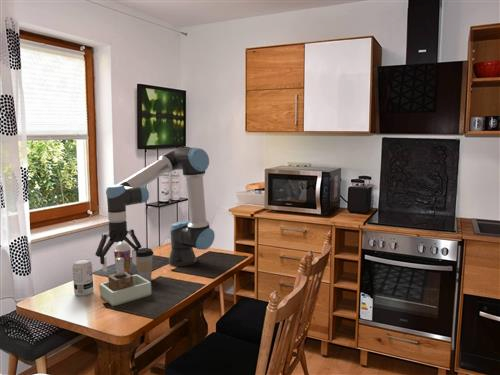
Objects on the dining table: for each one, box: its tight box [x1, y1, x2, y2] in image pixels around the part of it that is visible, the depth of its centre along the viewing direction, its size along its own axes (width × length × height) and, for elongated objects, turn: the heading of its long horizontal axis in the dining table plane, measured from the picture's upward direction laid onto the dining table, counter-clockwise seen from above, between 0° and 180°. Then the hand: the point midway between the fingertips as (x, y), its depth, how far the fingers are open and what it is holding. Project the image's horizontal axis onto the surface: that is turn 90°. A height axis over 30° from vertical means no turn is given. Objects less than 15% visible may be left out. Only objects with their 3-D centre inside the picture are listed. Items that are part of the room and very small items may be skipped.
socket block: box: [107, 272, 133, 292], centre depth 185 cm, size 8×8×10 cm
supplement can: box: [71, 258, 95, 297], centre depth 189 cm, size 8×8×15 cm
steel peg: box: [114, 257, 125, 279], centre depth 184 cm, size 4×4×12 cm
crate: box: [99, 273, 152, 307], centre depth 187 cm, size 18×14×6 cm
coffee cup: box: [135, 247, 155, 281], centre depth 206 cm, size 9×9×15 cm
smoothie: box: [113, 241, 132, 274], centre depth 213 cm, size 8×8×20 cm
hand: (120, 267), depth 184 cm, fingers open, 13 cm apart
